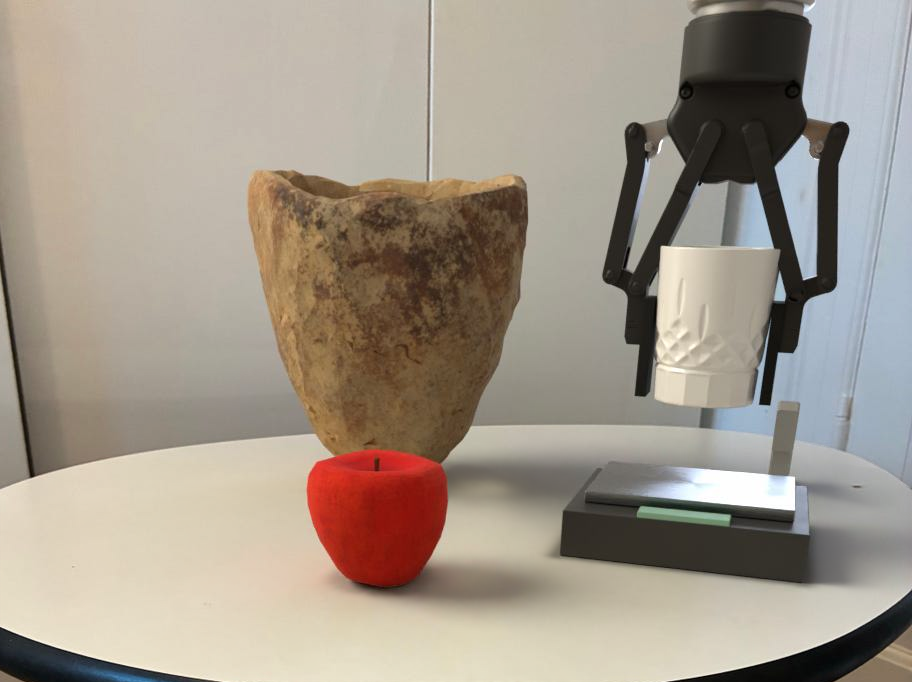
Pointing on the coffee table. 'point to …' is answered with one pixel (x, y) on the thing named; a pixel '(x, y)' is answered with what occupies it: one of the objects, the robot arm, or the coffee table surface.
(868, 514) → the coffee table surface
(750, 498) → the scale pan
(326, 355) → the brown clay pot
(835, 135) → the robot arm
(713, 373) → the white cup
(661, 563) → the scale
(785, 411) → the beige upright slab
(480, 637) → the coffee table surface
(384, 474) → the apple
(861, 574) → the coffee table surface
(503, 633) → the coffee table surface
